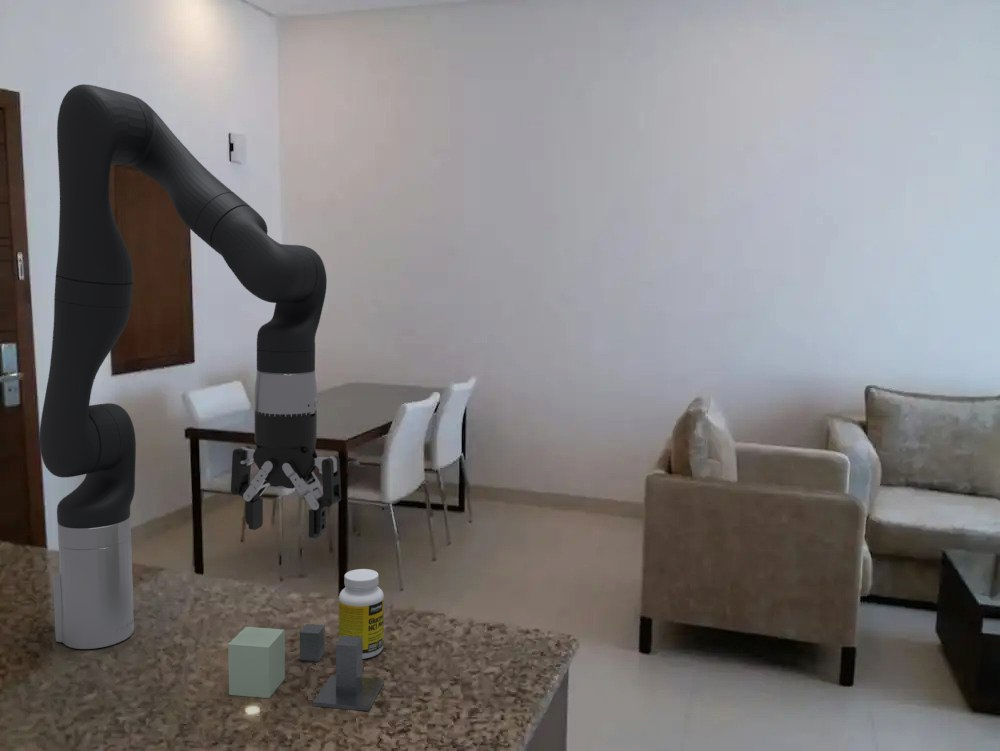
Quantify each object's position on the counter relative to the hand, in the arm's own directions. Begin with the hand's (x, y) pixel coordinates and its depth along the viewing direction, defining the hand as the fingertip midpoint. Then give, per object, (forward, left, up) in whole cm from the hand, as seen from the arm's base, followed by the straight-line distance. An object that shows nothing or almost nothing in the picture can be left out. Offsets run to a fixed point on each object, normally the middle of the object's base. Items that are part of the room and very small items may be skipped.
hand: (285, 532), depth 106 cm
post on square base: (+9, -3, -20) cm, 22 cm away
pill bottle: (+7, +9, -20) cm, 23 cm away
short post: (+1, +6, -20) cm, 21 cm away
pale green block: (-3, -3, -20) cm, 20 cm away
